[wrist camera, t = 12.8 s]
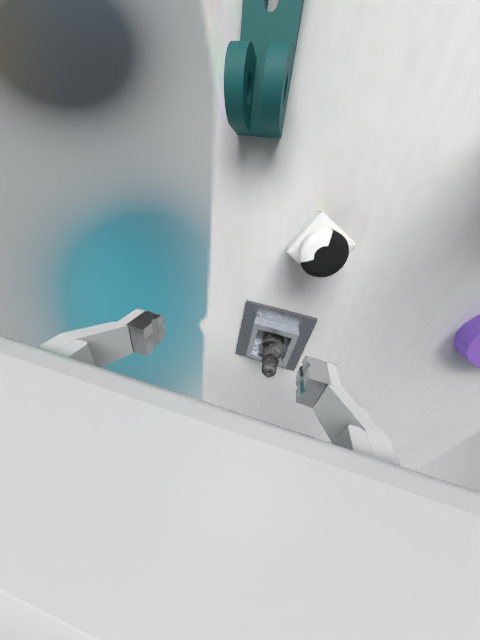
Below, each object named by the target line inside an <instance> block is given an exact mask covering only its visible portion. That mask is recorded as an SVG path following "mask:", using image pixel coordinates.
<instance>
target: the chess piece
mask: <svg viewBox="0 0 480 640" xmlns="http://www.w3.org/2000/svg"><path fill="white" fill-rule="evenodd" d="M262 341H263V342H261V344H260V346H259V351H260V353H261V354H262V355H263V357H262V363H263V365H262V373H263V374H264V375H265V376H266V377H267V378H269V377H272V376H274V375H275V373H276V366H277V365H278V363H279V360H278V359H279V358H281V357H282V356H283V355H284V353H285V348H284V346H283V344H284V338H283V336H281V335H278V334H274V333H270V332H268V333H266V334H265V335H264V336H263V338H262Z"/></svg>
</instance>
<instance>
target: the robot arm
mask: <svg viewBox="0 0 480 640" xmlns="http://www.w3.org/2000/svg"><path fill="white" fill-rule="evenodd" d="M164 322H165V321H164V317H163V316H162V315H158V314H155V313H151V312H149V311H145V310H142V309H136V310H134V311H133V312H131V313H130V314H128V315H127V316H125V317H124V318H122V319H121V320H119V321H118V322H110V323H105V324H101V325H96V326H92V327H87V328H83V329H79V330H74V331H70V332H65V333H61V334H59V335H58V336H56V337H54V338H52V339H50V340H49V341H47V342H45V343H43V344H42V345H40V346H38V347H36V346H33V345H30V344H27V343H24V342H21V341H18V340H15V339H12V338H8V337H5V336H2V335H0V640H480V492H477V491H475V490H472V489H469V488H466V487H463V486H459V485H456V484H453V483H450V482H447V481H444V480H441V479H438V478H435V477H432V476H428V475H426V474H422V473H420V472H417V471H414V470H411V469H408V468H405V467H402V466H400V463H399V461H398V458H397V456H396V453H395V451H394V449H393V446H392V444H391V441H390V439H389V436H388V435H387V434H386V433H385V432H384V430H383V429H382V428H381V427H380V426H379V425H378V424H377V423H376V422H375V421H374V420H373V419H372V417H371V416H370V415H369V414H368V413H367V412H366V411H365V410H364V409H363V408H362V407H361V406H360V404H359V403H358V402H357V401H356V400H355V399H354V398H353V397H352V396H351V395H350V394H349V393H348V391H347V390H345V389H343V388H342V384H341V380H340V377H339V373H338V369H337V366H336V364H334V363H330V362H327V361H322V360H318V359H315V358H311V357H307V356H305V357H304V359H303V361H302V364H303V366H301V367H299V370H298V372H297V376H296V385H297V387H298V388H297V390H296V402H297V403H300V404H303V405H306V406H309V407H312V408H313V410H314V412H315V414H316V415H317V417H318V419H319V421H320V422H321V424H322V426H323V428H324V430H325V431H326V433H327V435H328V437H329V438H330V440H331V442H332V444H331V443H328V442H325V441H322V440H319V439H316V438H313V437H310V436H307V435H304V434H301V433H298V432H295V431H292V430H289V429H286V428H283V427H280V426H277V425H274V424H271V423H268V422H265V421H261V420H258V419H255V418H252V417H249V416H246V415H243V414H240V413H237V412H234V411H231V410H228V409H225V408H222V407H219V406H216V405H213V404H210V403H207V402H204V401H200V400H198V399H194V398H191V397H188V396H185V395H182V394H179V393H176V392H173V391H170V390H167V389H164V388H161V387H158V386H155V385H152V384H149V383H146V382H143V381H140V380H137V379H133V378H131V377H127V376H124V375H121V374H118V373H115V372H112V371H109V370H106V369H103V368H101V367H103V366H105V365H107V364H109V363H112V362H114V361H115V360H118V359H120V358H123V357H125V356H127V355H129V354H131V353H133V352H135V353H139V354H142V355H146V356H148V355H149V354H150V352H151V351H153V350H154V349H155V345H156V344H159V343H160V342H161V341H162V340H163V338H164V336H165V328H164V326H163V325H162V324H163V323H164Z"/></svg>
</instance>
